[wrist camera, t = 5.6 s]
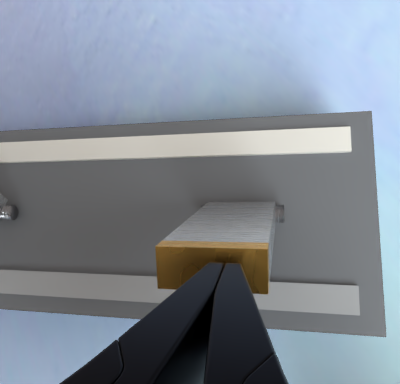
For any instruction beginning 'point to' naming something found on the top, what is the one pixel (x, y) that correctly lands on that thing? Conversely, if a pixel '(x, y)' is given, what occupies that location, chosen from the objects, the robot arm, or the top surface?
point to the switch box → (187, 206)
